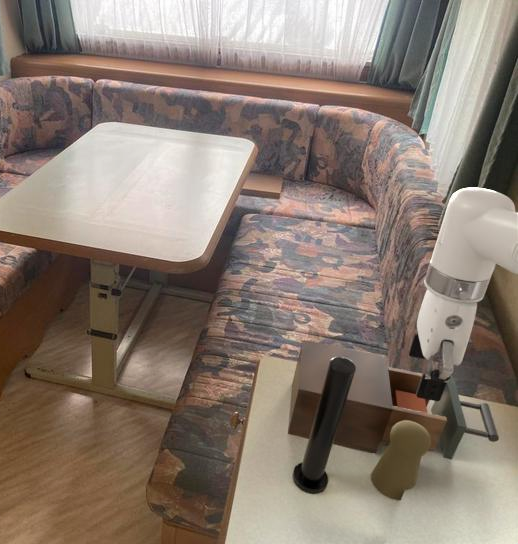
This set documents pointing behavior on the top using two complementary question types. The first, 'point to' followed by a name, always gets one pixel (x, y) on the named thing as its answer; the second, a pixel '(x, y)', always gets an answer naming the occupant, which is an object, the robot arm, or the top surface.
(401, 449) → the cork
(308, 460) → the stand
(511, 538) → the top surface
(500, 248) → the robot arm
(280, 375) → the top surface
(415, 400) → the block
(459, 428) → the drawer
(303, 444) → the top surface
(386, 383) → the cabinet
